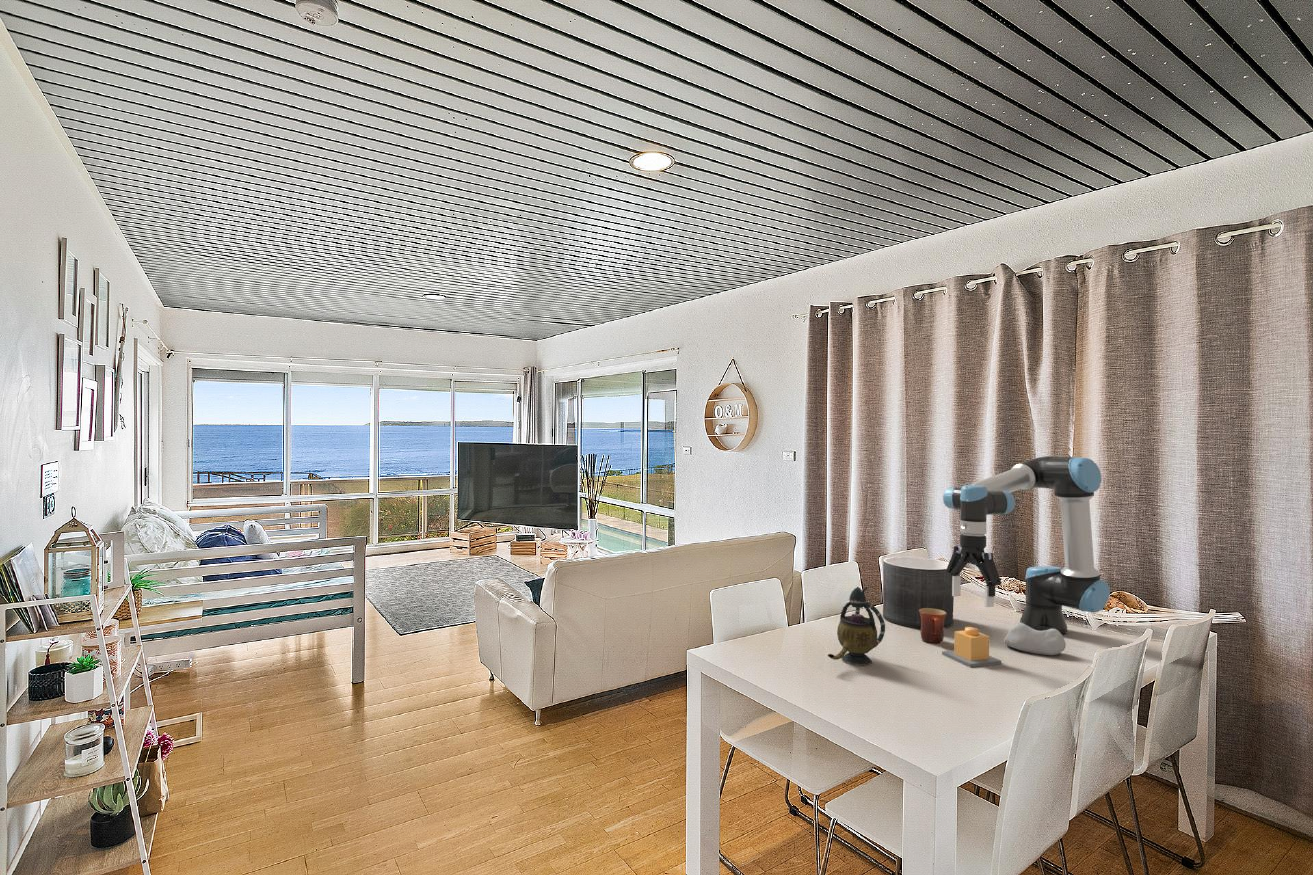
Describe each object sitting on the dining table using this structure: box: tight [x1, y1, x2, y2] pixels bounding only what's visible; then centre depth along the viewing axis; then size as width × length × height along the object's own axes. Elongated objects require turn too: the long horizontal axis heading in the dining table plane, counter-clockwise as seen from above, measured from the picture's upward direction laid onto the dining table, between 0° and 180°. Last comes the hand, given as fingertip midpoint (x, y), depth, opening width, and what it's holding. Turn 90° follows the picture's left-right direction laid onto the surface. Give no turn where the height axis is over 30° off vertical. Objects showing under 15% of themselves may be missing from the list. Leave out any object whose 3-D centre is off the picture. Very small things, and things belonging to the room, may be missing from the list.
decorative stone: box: [1003, 622, 1067, 656], centre depth 214 cm, size 17×10×10 cm
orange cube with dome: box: [953, 626, 990, 661], centre depth 204 cm, size 7×7×9 cm
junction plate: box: [941, 649, 1003, 668], centre depth 204 cm, size 12×12×6 cm
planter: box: [882, 556, 955, 629], centre depth 249 cm, size 25×25×22 cm
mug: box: [919, 608, 946, 645], centre depth 221 cm, size 12×9×10 cm
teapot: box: [827, 586, 886, 667], centre depth 198 cm, size 12×25×23 cm, turn 135°
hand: (972, 601), depth 204 cm, fingers open, 13 cm apart
